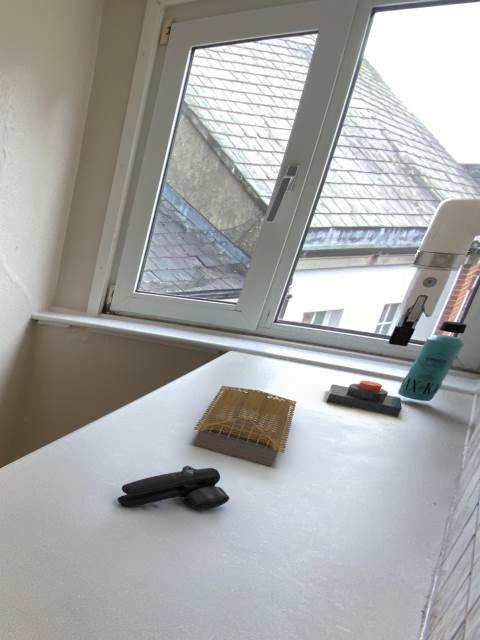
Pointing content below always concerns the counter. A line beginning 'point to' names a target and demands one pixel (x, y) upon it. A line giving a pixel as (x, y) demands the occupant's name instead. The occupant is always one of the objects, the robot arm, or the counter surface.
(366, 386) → the button
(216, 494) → the can opener
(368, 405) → the switch box
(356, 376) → the counter surface
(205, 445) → the rafter model
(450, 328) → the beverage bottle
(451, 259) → the robot arm
